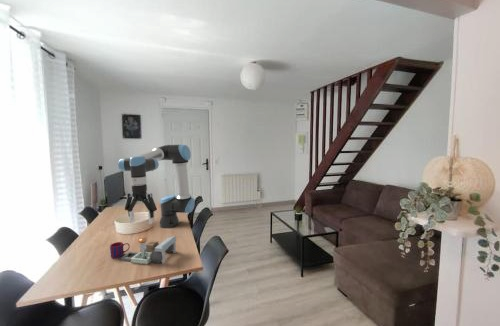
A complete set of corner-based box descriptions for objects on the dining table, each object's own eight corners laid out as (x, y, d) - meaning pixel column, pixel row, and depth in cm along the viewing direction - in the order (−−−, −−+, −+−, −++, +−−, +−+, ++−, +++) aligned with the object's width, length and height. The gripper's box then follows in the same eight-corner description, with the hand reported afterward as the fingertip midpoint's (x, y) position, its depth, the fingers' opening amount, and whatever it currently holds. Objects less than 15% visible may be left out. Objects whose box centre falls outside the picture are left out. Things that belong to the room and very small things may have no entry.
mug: (111, 253, 138) (111, 243, 137) (130, 250, 142) (129, 240, 141) (109, 259, 132) (108, 248, 131) (129, 255, 136) (128, 244, 135)
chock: (152, 248, 145) (152, 240, 145) (158, 248, 144) (158, 241, 144) (146, 252, 139) (146, 244, 139) (153, 253, 138) (152, 245, 138)
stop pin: (143, 257, 133) (141, 237, 131) (150, 257, 132) (148, 237, 131) (138, 261, 129) (136, 240, 127) (145, 261, 128) (143, 241, 126)
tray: (140, 255, 135) (140, 251, 135) (156, 257, 134) (155, 253, 133) (131, 262, 128) (131, 258, 127) (147, 264, 126) (147, 260, 126)
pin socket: (129, 254, 137) (129, 251, 137) (140, 255, 136) (139, 252, 136) (121, 260, 131) (120, 257, 130) (132, 261, 129) (131, 258, 129)
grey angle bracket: (164, 250, 141) (163, 234, 140) (176, 251, 140) (175, 235, 139) (150, 262, 127) (149, 245, 126) (163, 264, 126) (162, 246, 125)
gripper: (115, 185, 125) (118, 223, 127) (154, 186, 120) (156, 226, 122) (125, 182, 132) (127, 219, 134) (162, 183, 128) (164, 221, 130)
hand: (141, 222), depth 128 cm, fingers open, 11 cm apart
